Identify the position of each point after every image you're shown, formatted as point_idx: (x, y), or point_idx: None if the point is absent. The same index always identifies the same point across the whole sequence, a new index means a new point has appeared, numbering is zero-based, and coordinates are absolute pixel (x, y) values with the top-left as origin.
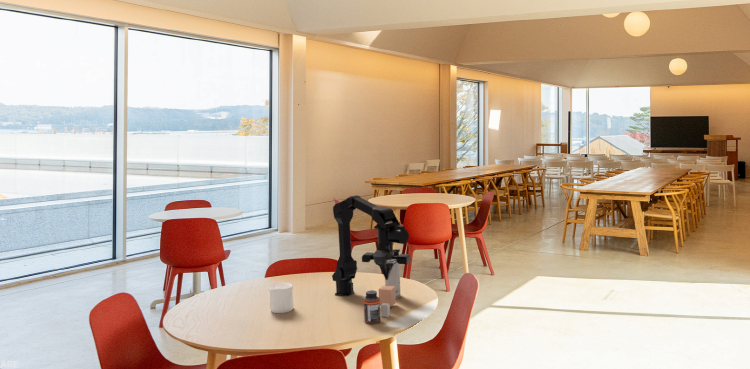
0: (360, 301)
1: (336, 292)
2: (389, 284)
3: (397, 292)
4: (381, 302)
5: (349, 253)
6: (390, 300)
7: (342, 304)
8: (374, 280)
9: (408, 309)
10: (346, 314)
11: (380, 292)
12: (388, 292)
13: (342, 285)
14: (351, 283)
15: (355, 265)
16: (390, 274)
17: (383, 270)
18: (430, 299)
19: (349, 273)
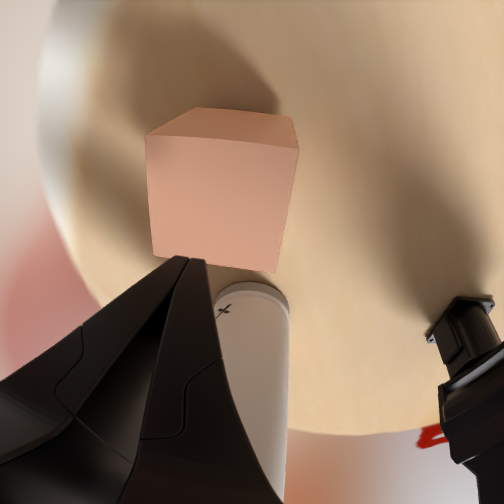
0: (415, 233)
1: (487, 315)
2: (254, 344)
3: (217, 310)
4: (272, 118)
5: (491, 486)
6: (190, 114)
7: (493, 186)
8: (344, 413)
9: (106, 121)
10: (461, 14)
11: (277, 136)
12: (186, 130)
13: (488, 333)
14: (452, 355)
15: (456, 438)
16: (236, 404)
17: (179, 381)
18: (84, 275)
19: (484, 387)
